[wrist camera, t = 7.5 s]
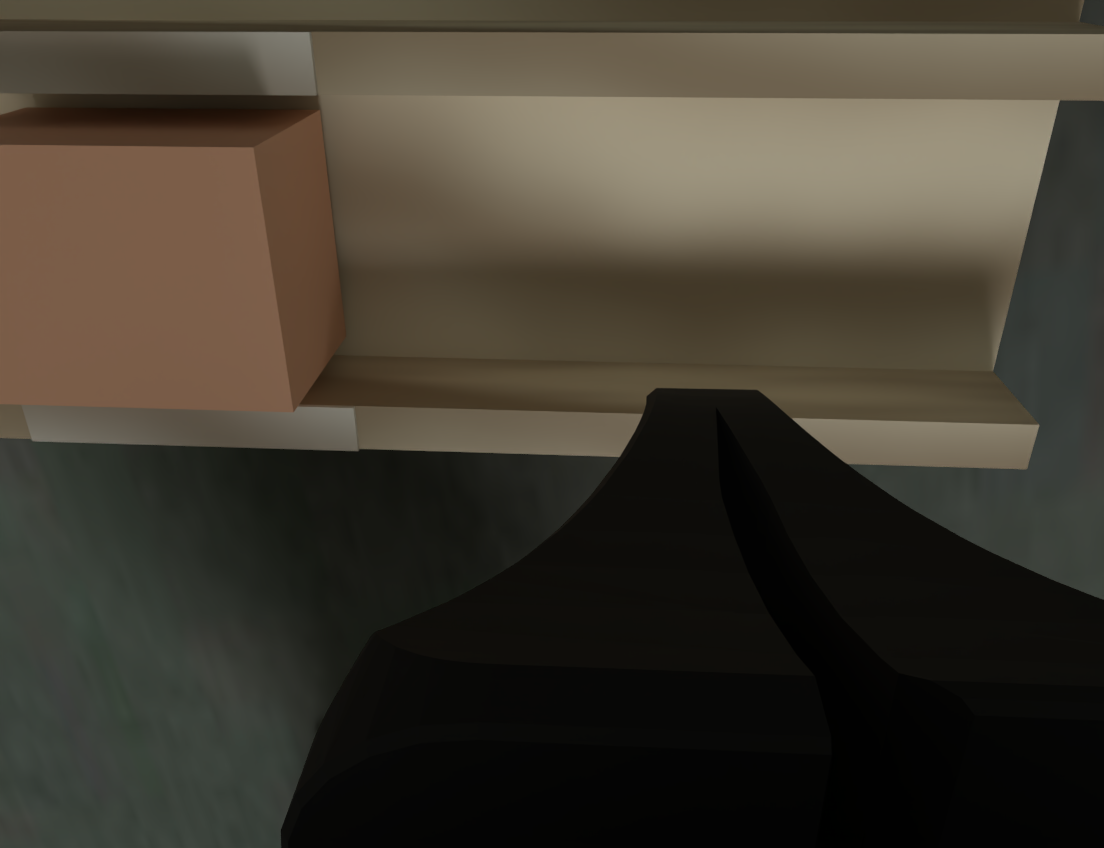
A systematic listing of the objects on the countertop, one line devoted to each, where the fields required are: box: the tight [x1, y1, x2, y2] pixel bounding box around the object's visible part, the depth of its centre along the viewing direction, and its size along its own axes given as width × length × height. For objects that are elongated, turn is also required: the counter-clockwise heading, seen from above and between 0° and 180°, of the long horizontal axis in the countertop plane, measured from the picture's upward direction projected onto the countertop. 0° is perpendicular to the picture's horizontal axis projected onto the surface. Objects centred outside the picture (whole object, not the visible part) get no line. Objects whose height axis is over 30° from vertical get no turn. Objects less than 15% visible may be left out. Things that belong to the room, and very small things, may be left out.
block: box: [0, 107, 346, 412], centre depth 18 cm, size 5×6×4 cm
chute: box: [0, 0, 1104, 469], centre depth 18 cm, size 10×28×4 cm, turn 90°
